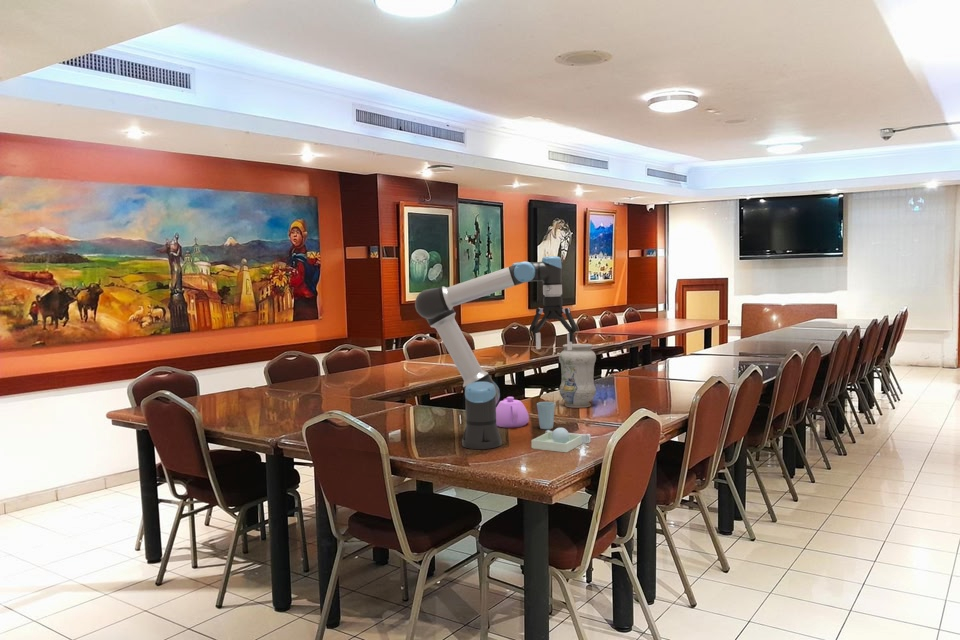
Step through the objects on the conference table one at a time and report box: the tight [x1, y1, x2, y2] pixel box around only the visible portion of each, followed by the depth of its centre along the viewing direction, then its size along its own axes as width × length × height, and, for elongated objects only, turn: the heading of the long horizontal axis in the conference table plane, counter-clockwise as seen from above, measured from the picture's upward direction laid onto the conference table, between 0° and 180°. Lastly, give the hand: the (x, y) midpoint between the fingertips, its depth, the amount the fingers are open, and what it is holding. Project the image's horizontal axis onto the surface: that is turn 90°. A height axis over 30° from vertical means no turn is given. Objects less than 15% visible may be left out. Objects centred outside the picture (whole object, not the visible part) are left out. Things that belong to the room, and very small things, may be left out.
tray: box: [530, 432, 583, 453], centre depth 259 cm, size 14×14×3 cm
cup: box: [536, 401, 556, 430], centre depth 290 cm, size 8×8×10 cm
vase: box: [558, 343, 597, 409], centre depth 335 cm, size 18×18×30 cm
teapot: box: [496, 396, 530, 429], centre depth 299 cm, size 22×16×12 cm
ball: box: [552, 427, 570, 444], centre depth 258 cm, size 6×6×6 cm
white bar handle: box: [544, 429, 591, 444], centre depth 267 cm, size 18×2×3 cm, turn 59°
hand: (553, 349), depth 272 cm, fingers open, 13 cm apart
